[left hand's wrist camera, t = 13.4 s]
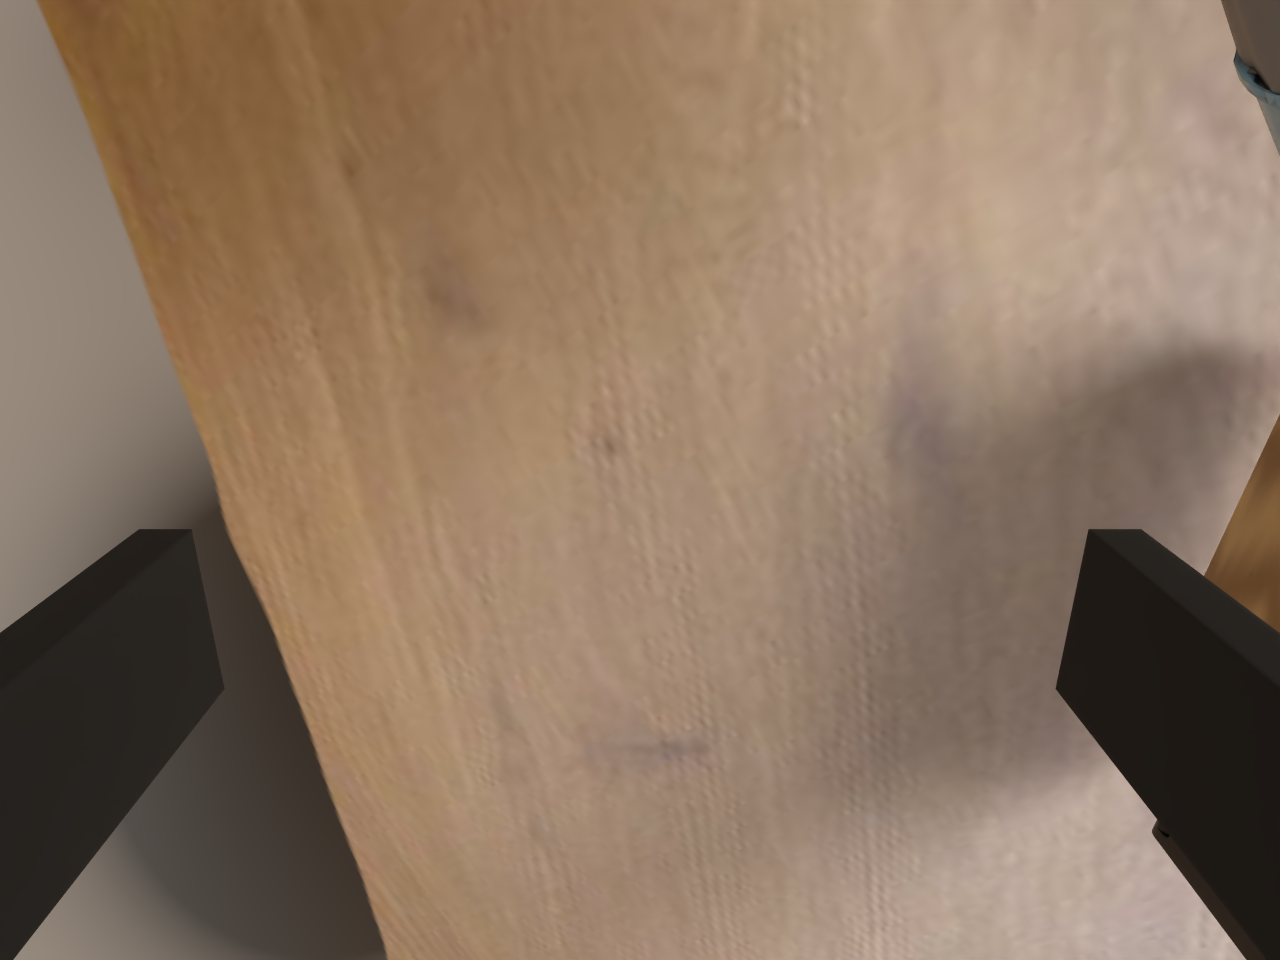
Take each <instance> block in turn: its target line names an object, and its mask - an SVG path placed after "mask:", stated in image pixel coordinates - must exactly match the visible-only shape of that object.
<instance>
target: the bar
mask: <svg viewBox="0 0 1280 960" xmlns="http://www.w3.org/2000/svg"><path fill="white" fill-rule="evenodd" d="M1204 577H1205V578H1207V579H1208V580H1210V581H1211V582H1212V583H1214V584H1215V585H1216V586H1218V587H1219V588H1220V589H1222V590H1223V591H1224V592H1226V593H1227V594H1228V595H1230V596H1231V597H1232V598H1234V599H1235V600H1236V601H1238V602H1239V603H1240V604H1242V605H1243V606H1244V607H1246V608H1247V609H1248V610H1250V611H1251V612H1252V613H1254V614H1255V615H1256V616H1258V617H1259V618H1260V619H1262V620H1263V621H1264V622H1266V623H1267V624H1269V625H1270V626H1271V627H1273V628H1274V629H1275V630H1277V631H1278V632H1279V633H1280V415H1279V417H1278V419H1277V421H1276V424H1275V426H1274V428H1273V430H1272V432H1271V434H1270V436H1269V439H1268V441H1267V443H1266V445H1265V447H1264V449H1263V451H1262V453H1261V456H1260V458H1259V460H1258V462H1257V464H1256V466H1255V468H1254V471H1253V473H1252V475H1251V477H1250V479H1249V481H1248V483H1247V486H1246V488H1245V490H1244V492H1243V494H1242V496H1241V498H1240V500H1239V503H1238V505H1237V507H1236V509H1235V511H1234V513H1233V515H1232V518H1231V520H1230V522H1229V524H1228V526H1227V528H1226V530H1225V533H1224V535H1223V537H1222V539H1221V541H1220V543H1219V545H1218V548H1217V550H1216V552H1215V554H1214V556H1213V558H1212V560H1211V562H1210V565H1209V567H1208V569H1207V571H1206V573H1205V575H1204Z"/></svg>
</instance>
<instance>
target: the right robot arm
mask: <svg viewBox="0 0 1280 960" xmlns="http://www.w3.org/2000/svg"><path fill="white" fill-rule="evenodd" d="M1152 833H1153V835H1154V837H1155V838H1156V840H1157V841H1158V842H1159V844H1160V845H1161V846H1162V848H1163V849H1164V850H1165V852H1166V853H1167V854H1168V856H1169V857H1170V858H1171V860H1172V861H1173V862H1174V864H1175V865H1176V866H1177V868H1178V869H1179V870H1180V872H1181V873H1182V874H1183V876H1184V877H1185V878H1186V880H1187V881H1188V882H1189V884H1190V885H1191V886H1192V888H1193V889H1194V890H1195V892H1196V893H1197V894H1198V896H1199V897H1200V898H1201V900H1202V901H1203V902H1204V904H1205V905H1206V906H1207V908H1208V909H1209V910H1210V912H1211V913H1212V914H1213V916H1214V917H1215V918H1216V920H1217V921H1218V922H1219V924H1220V925H1221V926H1222V928H1223V929H1224V930H1225V932H1226V933H1227V934H1228V936H1229V937H1230V938H1231V940H1232V941H1233V942H1234V944H1235V945H1236V946H1237V948H1238V949H1239V950H1240V952H1241V953H1242V954H1243V956H1244V957H1245V958H1246V960H1267V959H1266V958H1265V957H1264V955H1263V954H1262V953H1261V952H1260V950H1259V949H1258V948H1257V946H1256V945H1255V944H1254V943H1253V941H1252V940H1251V939H1250V937H1249V936H1248V935H1247V934H1246V932H1245V931H1244V930H1243V929H1242V927H1241V926H1240V925H1239V923H1238V922H1237V921H1236V920H1235V918H1234V917H1233V916H1232V914H1231V913H1230V912H1229V911H1228V909H1227V908H1226V907H1225V905H1224V904H1223V903H1222V902H1221V900H1220V899H1219V898H1218V896H1217V895H1216V894H1215V893H1214V891H1213V890H1212V889H1211V887H1210V886H1209V885H1208V884H1207V882H1206V881H1205V880H1204V878H1203V877H1202V876H1201V875H1200V873H1199V872H1198V871H1197V870H1196V868H1195V867H1194V866H1193V864H1192V863H1191V862H1190V861H1189V859H1188V858H1187V857H1186V855H1185V854H1184V853H1183V852H1182V850H1181V849H1180V848H1179V846H1178V845H1177V844H1176V843H1175V841H1174V840H1173V839H1172V837H1171V836H1170V835H1169V834H1168V832H1167V831H1166V830H1165V828H1164V827H1163V826H1162V825H1161V823H1160V822H1159V821H1158V819H1157V821H1156V823H1155V825H1154V827H1153V829H1152Z"/></svg>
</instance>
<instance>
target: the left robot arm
mask: <svg viewBox="0 0 1280 960" xmlns="http://www.w3.org/2000/svg"><path fill="white" fill-rule="evenodd" d="M1221 1H1222V4H1223V8H1224V11H1225V14H1226V17H1227V20H1228V23H1229V26H1230V30H1231V33H1232V36H1233V39H1234V42H1235V45H1236V54H1235V58H1234V65H1235V68H1236V71H1237V74H1238V76H1239V79H1240V81H1241V82H1242V83H1243V85H1244V86H1245V88H1246V89H1247V90H1248V91H1249V92H1250V93H1251V94H1253V95H1254V96H1255V97H1257V100H1258V102H1259V105H1260V107H1261V110H1262V112H1263V115H1264V117H1265V120H1266V122H1267V125H1268V127H1269V130H1270V133H1271V135H1272V138H1273V140H1274V143H1275V145H1276V148H1277V150H1278V153H1279V155H1280V0H1221ZM223 690H224V685H223V680H222V675H221V670H220V665H219V660H218V656H217V651H216V646H215V641H214V636H213V631H212V627H211V622H210V617H209V612H208V607H207V602H206V598H205V593H204V588H203V583H202V578H201V573H200V568H199V564H198V559H197V554H196V549H195V544H194V539H193V535H192V530H191V529H139V530H138V531H136V532H135V533H134V534H132V535H131V536H129V537H128V538H127V539H125V540H124V541H123V542H121V543H120V544H119V545H117V546H116V547H115V548H113V549H112V550H111V551H109V552H108V553H107V554H105V555H104V556H103V557H101V558H100V559H99V560H97V561H96V562H95V563H93V564H92V565H91V566H89V567H88V568H87V569H85V570H84V571H83V572H81V573H80V574H79V575H77V576H76V577H75V578H73V579H72V580H70V581H69V582H68V583H67V584H65V585H64V586H62V587H61V588H60V589H58V590H57V591H56V592H54V593H53V594H52V595H50V596H49V597H48V598H46V599H45V600H44V601H42V602H41V603H40V604H38V605H37V606H36V607H34V608H33V609H32V610H30V611H29V612H28V613H26V614H25V615H24V616H22V617H21V618H20V619H18V620H17V621H16V622H14V623H13V624H11V625H10V626H9V627H7V628H6V629H5V630H3V631H2V632H1V633H0V960H13V959H14V958H15V957H16V955H17V954H18V953H19V952H20V950H21V949H22V948H23V946H24V945H25V944H26V943H27V941H28V940H29V939H30V937H31V936H32V935H33V934H34V932H35V931H36V930H37V929H38V927H39V926H40V925H41V923H42V922H43V921H44V920H45V918H46V917H47V916H48V914H49V913H50V912H51V910H52V909H53V908H54V907H55V905H56V904H57V903H58V902H59V900H60V899H61V898H62V896H63V895H64V894H65V893H66V891H67V890H68V889H69V887H70V886H71V885H72V884H73V882H74V881H75V880H76V878H77V877H78V876H79V875H80V873H81V872H82V871H83V870H84V868H85V867H86V866H87V864H88V863H89V862H90V860H91V859H92V858H93V857H94V855H95V854H96V853H97V852H98V850H99V849H100V848H101V846H102V845H103V844H104V843H105V841H106V840H107V839H108V837H109V836H110V835H111V834H112V832H113V831H114V830H115V828H116V827H117V826H118V825H119V823H120V822H121V821H122V819H123V818H124V817H125V816H126V814H127V813H128V812H129V810H130V809H131V808H132V807H133V805H134V804H135V803H136V802H137V800H138V799H139V798H140V796H141V795H142V794H143V793H144V791H145V790H146V789H147V787H148V786H149V785H150V784H151V782H152V781H153V780H154V778H155V777H156V776H157V774H158V773H159V772H160V771H161V769H162V768H163V767H164V766H165V764H166V763H167V762H168V760H169V759H170V758H171V757H172V755H173V754H174V753H175V751H176V750H177V749H178V748H179V746H180V745H181V744H182V742H183V741H184V740H185V739H186V737H187V736H188V735H189V734H190V732H191V731H192V730H193V728H194V727H195V726H196V725H197V723H198V722H199V721H200V719H201V718H202V717H203V716H204V714H205V713H206V712H207V710H208V709H209V708H210V707H211V705H212V704H213V703H214V701H215V700H216V699H217V698H218V696H219V695H220V694H221V693H222V691H223ZM1056 690H1057V691H1058V693H1059V694H1060V695H1061V696H1062V698H1063V699H1064V700H1065V701H1066V703H1067V704H1068V705H1069V707H1070V708H1071V709H1072V710H1073V712H1074V713H1075V714H1076V716H1077V717H1078V718H1079V719H1080V721H1081V722H1082V723H1083V725H1084V726H1085V727H1086V728H1087V730H1088V731H1089V732H1090V734H1091V735H1092V736H1093V737H1094V739H1095V740H1096V741H1097V743H1098V744H1099V745H1100V746H1101V748H1102V749H1103V750H1104V752H1105V753H1106V754H1107V755H1108V757H1109V758H1110V759H1111V760H1112V762H1113V763H1114V764H1115V766H1116V767H1117V768H1118V769H1119V771H1120V772H1121V773H1122V775H1123V776H1124V777H1125V778H1126V780H1127V781H1128V782H1129V784H1130V785H1131V786H1132V787H1133V789H1134V790H1135V791H1136V793H1137V794H1138V795H1139V796H1140V798H1141V799H1142V800H1143V802H1144V803H1145V804H1146V805H1147V807H1148V808H1149V809H1150V811H1151V812H1152V813H1153V814H1154V816H1155V817H1156V818H1157V819H1158V821H1159V822H1160V823H1161V825H1162V826H1163V827H1164V828H1165V830H1166V831H1167V832H1168V834H1169V835H1170V836H1171V837H1172V839H1173V840H1174V841H1175V843H1176V844H1177V845H1178V846H1179V848H1180V849H1181V850H1182V852H1183V853H1184V854H1185V855H1186V857H1187V858H1188V859H1189V861H1190V862H1191V863H1192V864H1193V866H1194V867H1195V868H1196V870H1197V871H1198V872H1199V873H1200V875H1201V876H1202V877H1203V878H1204V880H1205V881H1206V882H1207V884H1208V885H1209V886H1210V887H1211V889H1212V890H1213V891H1214V893H1215V894H1216V895H1217V896H1218V898H1219V899H1220V900H1221V902H1222V903H1223V904H1224V905H1225V907H1226V908H1227V909H1228V911H1229V912H1230V913H1231V914H1232V916H1233V917H1234V918H1235V920H1236V921H1237V922H1238V923H1239V925H1240V926H1241V927H1242V929H1243V930H1244V931H1245V932H1246V934H1247V935H1248V936H1249V937H1250V939H1251V940H1252V941H1253V943H1254V944H1255V945H1256V946H1257V948H1258V949H1259V950H1260V952H1261V953H1262V954H1263V955H1264V957H1265V958H1266V959H1267V960H1280V633H1279V632H1278V631H1277V630H1275V629H1274V628H1273V627H1271V626H1270V625H1269V624H1267V623H1266V622H1264V621H1263V620H1262V619H1260V618H1259V617H1258V616H1256V615H1255V614H1254V613H1252V612H1251V611H1250V610H1248V609H1247V608H1246V607H1244V606H1243V605H1242V604H1240V603H1239V602H1238V601H1236V600H1235V599H1234V598H1232V597H1231V596H1230V595H1228V594H1227V593H1226V592H1224V591H1223V590H1222V589H1220V588H1219V587H1218V586H1216V585H1215V584H1214V583H1212V582H1211V581H1210V580H1208V579H1207V578H1205V577H1204V576H1203V575H1201V574H1200V573H1199V572H1197V571H1196V570H1195V569H1193V568H1192V567H1191V566H1189V565H1188V564H1187V563H1185V562H1184V561H1183V560H1181V559H1180V558H1179V557H1177V556H1176V555H1175V554H1173V553H1172V552H1171V551H1169V550H1168V549H1167V548H1165V547H1164V546H1163V545H1161V544H1160V543H1159V542H1157V541H1156V540H1155V539H1153V538H1152V537H1151V536H1149V535H1148V534H1147V533H1145V532H1144V531H1142V530H1141V529H1089V530H1088V535H1087V539H1086V544H1085V549H1084V554H1083V559H1082V564H1081V568H1080V573H1079V578H1078V583H1077V588H1076V593H1075V597H1074V602H1073V607H1072V612H1071V617H1070V622H1069V627H1068V631H1067V636H1066V641H1065V646H1064V651H1063V656H1062V660H1061V665H1060V670H1059V675H1058V680H1057V685H1056Z"/></svg>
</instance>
